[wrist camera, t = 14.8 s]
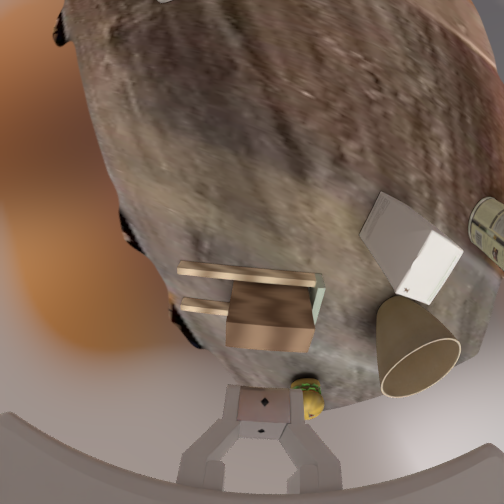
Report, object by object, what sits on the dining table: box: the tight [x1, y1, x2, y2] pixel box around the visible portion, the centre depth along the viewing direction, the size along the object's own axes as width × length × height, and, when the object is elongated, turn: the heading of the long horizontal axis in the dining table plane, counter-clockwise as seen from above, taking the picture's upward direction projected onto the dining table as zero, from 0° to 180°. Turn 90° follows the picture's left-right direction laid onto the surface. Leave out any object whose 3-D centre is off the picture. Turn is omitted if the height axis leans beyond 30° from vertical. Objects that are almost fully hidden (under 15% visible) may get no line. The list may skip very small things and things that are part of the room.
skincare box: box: [359, 191, 463, 305], centre depth 31 cm, size 8×7×16 cm
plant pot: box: [376, 296, 461, 398], centre depth 40 cm, size 15×15×16 cm
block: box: [226, 280, 315, 352], centre depth 41 cm, size 12×5×11 cm, turn 85°
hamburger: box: [291, 378, 324, 420], centre depth 52 cm, size 8×7×12 cm
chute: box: [177, 261, 316, 316], centre depth 45 cm, size 22×9×2 cm, turn 85°
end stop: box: [309, 273, 326, 325], centre depth 44 cm, size 1×9×4 cm, turn 176°
